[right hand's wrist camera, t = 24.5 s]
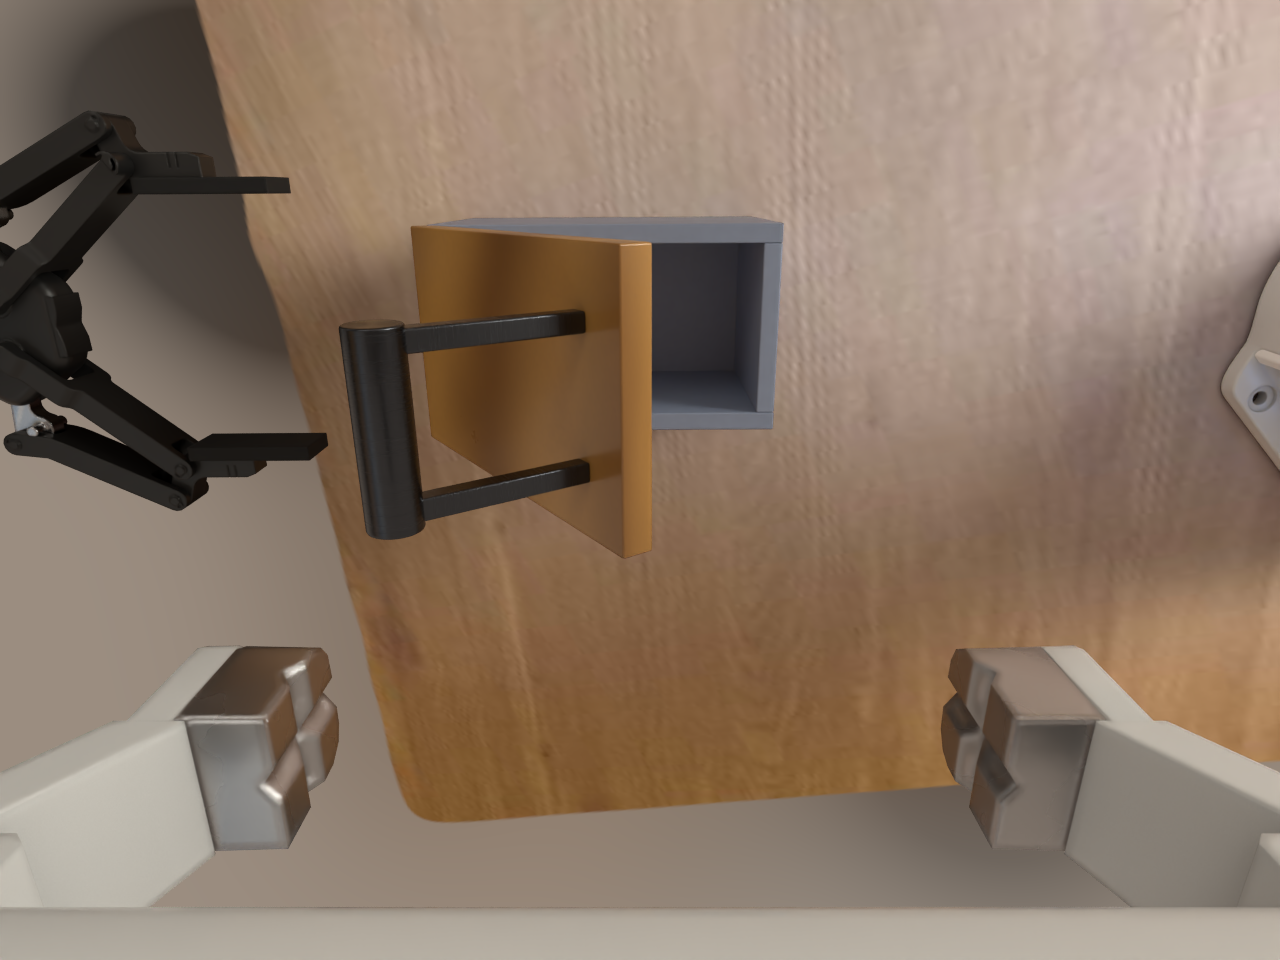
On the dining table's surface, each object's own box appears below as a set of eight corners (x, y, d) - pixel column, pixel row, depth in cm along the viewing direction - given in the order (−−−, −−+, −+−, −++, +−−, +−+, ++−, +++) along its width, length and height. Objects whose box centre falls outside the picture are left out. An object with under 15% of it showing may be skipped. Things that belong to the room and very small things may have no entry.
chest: (752, 216, 46) (783, 223, 36) (745, 381, 49) (772, 429, 39) (472, 218, 46) (426, 225, 36) (485, 382, 49) (445, 431, 39)
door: (652, 242, 23) (355, 255, 18) (652, 551, 26) (401, 627, 21) (434, 225, 36) (229, 230, 31) (453, 433, 39) (270, 465, 34)
